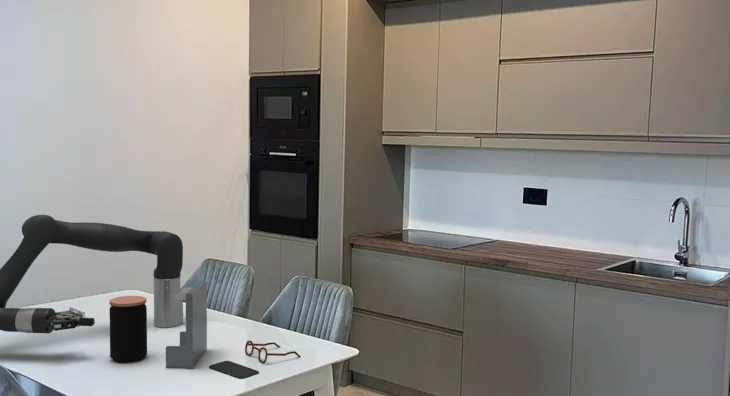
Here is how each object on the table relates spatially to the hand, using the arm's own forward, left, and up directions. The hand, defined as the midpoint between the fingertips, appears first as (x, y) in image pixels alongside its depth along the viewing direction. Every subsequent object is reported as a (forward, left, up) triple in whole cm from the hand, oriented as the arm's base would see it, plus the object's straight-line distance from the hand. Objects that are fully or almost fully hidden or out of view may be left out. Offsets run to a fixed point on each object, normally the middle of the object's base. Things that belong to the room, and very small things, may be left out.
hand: (93, 322), depth 206 cm
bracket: (-18, +21, -11) cm, 30 cm away
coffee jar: (-7, +8, -11) cm, 15 cm away
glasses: (-38, +38, -12) cm, 55 cm away
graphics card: (-13, -50, -12) cm, 53 cm away
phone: (-21, +40, -12) cm, 46 cm away
